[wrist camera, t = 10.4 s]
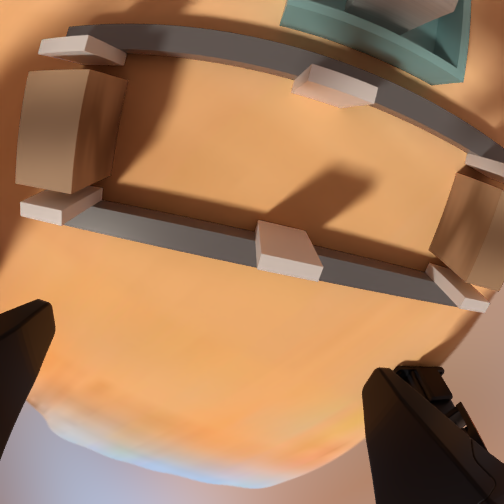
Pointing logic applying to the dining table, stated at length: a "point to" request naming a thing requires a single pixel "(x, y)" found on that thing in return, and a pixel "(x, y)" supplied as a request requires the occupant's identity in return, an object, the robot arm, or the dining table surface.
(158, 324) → the dining table surface
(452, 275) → the clip holder
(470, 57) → the dining table surface
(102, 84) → the walnut block
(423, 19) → the tea bag
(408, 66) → the teal tray
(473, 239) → the walnut block
